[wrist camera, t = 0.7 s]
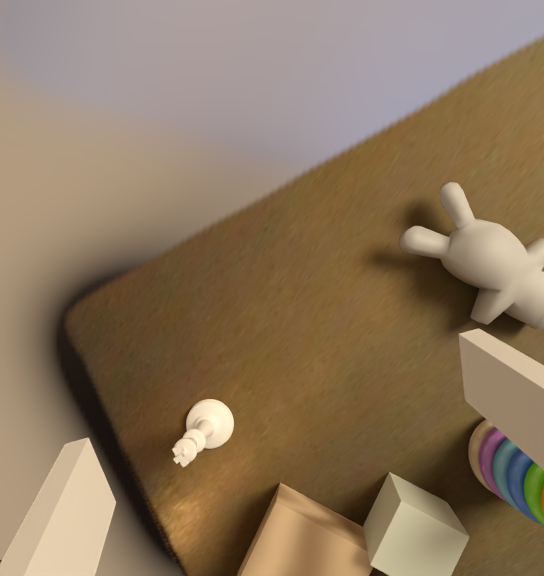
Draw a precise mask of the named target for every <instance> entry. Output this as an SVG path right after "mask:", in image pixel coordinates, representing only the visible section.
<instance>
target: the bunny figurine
mask: <svg viewBox="0 0 544 576" xmlns="http://www.w3.org/2000/svg"><path fill="white" fill-rule="evenodd" d="M440 202H441V203H442V205H443V206H444V208H445V209H446V211H447V212H448V214H449V215H450V217H451V218H452V220H453V221H454V223H455V224H456V226H457V228H456V229H455V230H454V231H452V232H451V234H450V235H449V237H447V236H444V235H442V234H439V233H437V232H434V231H432V230H429V229H427V228H424V227H422V226H413V227H412V228H410V229H408V230H407V231H406V232H405V233H403V234H402V235H401V236H400V239H399V243H398V244H399V246H400V249H401V250H402V251H404V252H406V253H408V254H414V255H420V256H426V257H432V258H438V259H441V262H442V264H443V267H444V268H445V269H446V270H447V271H448V272H449V273H450V274H452V275H453V276H455V277H456V278H458V279H459V280H461V281H463V282H465V283H467V284H469V285H471V286H474V287H477V288H479V292H478V295H477V298H476V301H475V304H474V307H473V310H472V313H471V316H470V318H472V319H473V320H475V321H476V322H479V323H483V324H486V325H488V324H489V323H490V322H492V321H493V320H494V319H495V318H496V317H497V316H499V315H500V314H501V313H502V312H503V311H504V312H505V313H506V314H507V315H509V316H511V317H513V318H515V319H517V320H519V321H521V322H524V323H526V324H527V325H529V326H530V327H531V328H535V329H540V330H542V329H543V328H544V272H542V271H541V270H542V268H543V266H544V238H543V239H536V240H534V241H532V242H531V243H529V244H527V245H526V246H523V245H522V244H521V242H520V241H519V240H518V239H517V238H516V237H515V236H514V235H513V234H512V233H511V232H510V231H509V230H507V229H506V228H504V227H503V226H501V225H499V224H497V223H492V222H488V221H483V220H479V219H475V218H474V216H473V214H472V211H471V209H470V207H469V204H468V202H467V199H466V197H465V195H464V192H463V190H462V188H461V187H460V186H459V184H457V183H455V182H450V181H449V182H447V183H445V184H443V185H442V187H441V189H440Z"/></svg>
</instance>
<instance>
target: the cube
mask: <svg viewBox="0 0 544 576" xmlns="http://www.w3.org/2000/svg"><path fill="white" fill-rule="evenodd" d="M363 531H364V536H365V541H366V546H367V551H368V556H369V562H370V565H371V566H373V567H375V568H376V569H378V570H380V571H382V572H384V573H386V574H387V575H389V576H451V574H452V572H453V570H454V568H455V566H456V564H457V562H458V560H459V558H460V556H461V554H462V552H463V550H464V548H465V546H466V544H467V542H468V540H469V538H470V537H469V535H468V534H467V532H466V530H465V529H464V527H463V526H462V524H461V523H460V521H459V520H458V518H457V516H456V515H455V513H454V512H453V510H452V509H451V507H450V506H449V504H448V503H447V502H446V501H444V500H442V499H440V498H438V497H436V496H435V495H433V494H431V493H429V492H427V491H425V490H423V489H421V488H419V487H417V486H415V485H413V484H411V483H410V482H408V481H406V480H404V479H402V478H400V477H398V476H396V475H394V474H392V473H390V472H389V474H388V476H387V478H386V480H385V482H384V484H383V486H382V488H381V490H380V492H379V494H378V496H377V498H376V500H375V502H374V504H373V506H372V509H371V511H370V513H369V515H368V517H367V519H366V521H365V523H364V525H363Z"/></svg>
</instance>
